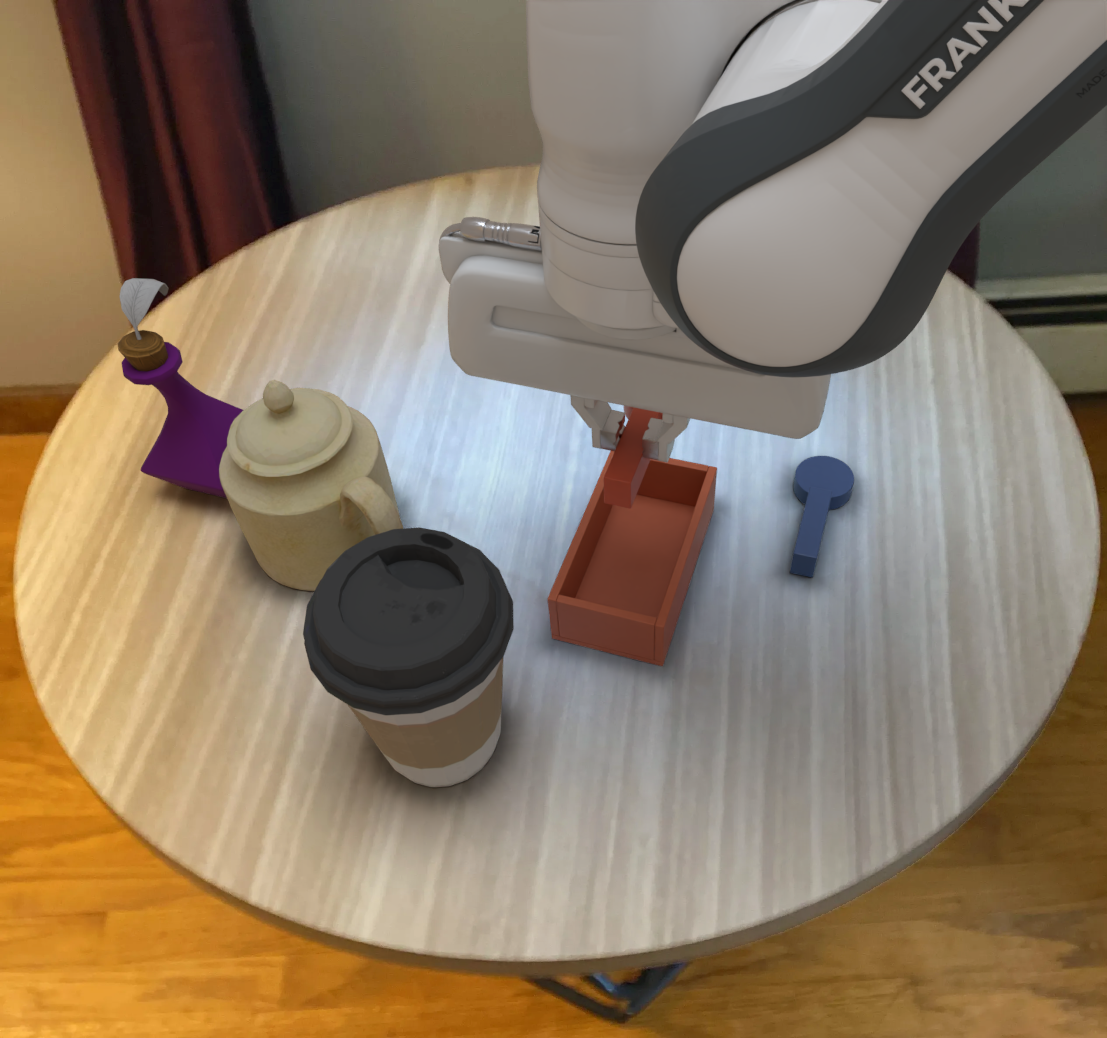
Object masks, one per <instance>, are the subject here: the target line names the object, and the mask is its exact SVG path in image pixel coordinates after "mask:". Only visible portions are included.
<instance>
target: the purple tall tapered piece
mask: <svg viewBox="0 0 1107 1038" xmlns="http://www.w3.org/2000/svg"><path fill="white" fill-rule="evenodd" d="M158 292H159V293H160V294H162V295H163V296H164V297H166V296H167V294H168V292H169V287H168V285H167V284H166V283H165V282H161V281H160V280H157V279H154V278H137V277H135V278H134V277H132V278H130V279H127V280H125V281H124V282H123V284H122V285H121V287H120V291H119V301H120V307H121V311H122V312H123V314H124V315H125V317H126V318H127V320H128V321H129V323H130V324H131V326H132V328H133V330H134V331H132V332H129V333H127V334H125V335H123V336H122V337H121V339H119V340H118V342H117V348H118V352H119V353H120V354H121V355H122V357H124V358H123V360H122V361H121V369H122V375H123V377H124V378H125V379H126V380H128V381H129V382H131V383H132V384H134V385H137V386H153V387H154V389H156V390H157V391H158V392H159V393H160V394H161V395H162V397H163V398H164V400H165V403H166V407H167V415H166V417H165V419H164V422H163V425H162V426H161V430H160V432H159V435H158V436H157V438H156V440H155V442H154V444H153V445H152V447H151V449H150V450H149V452H148V454H147V456H146V458H145V460H144V461H143V463H142V465H141V467H140V471H141V472H142V473H143V474H144V475H147V476H150V477H153V478H155V479H158V480H161V481H164V482H166V483H169V484H171V485H175V486H177V487H179V488H183V489H186V490H190V491H194V492H197V493H202V494H206V495H211V496H215V497H219V498H224V499H227V497H226V494H225V492H224V490H223V487H222V485H221V481H220V477H219V466H220V462H221V458H222V455H223V452H224V451H225V449H226V447H227V438H228V434H229V430H230V426H231V424H232V423H233V421H234V419H235V418H236V417H237V416H238V415H239V414H240V413H241V412H242V411H243V410H244V409H243V408H240V407H238V406H235V405H232V404H230V403H228V402H225V401H223V400H220V399H218V398H217V397H214V396H211V395H209V394H206V393H204V392H203V391H202V390H199V389H198V388H197V387H196V386H194V385H193V384H192V383H190V382H189V381H188V380H187V379H186V378H184V376H183V375H181V374H180V373H179V369H180V368H181V366H182V364H183V358H182V357H183V356H182V353H181V350H180V349H179V348H178V347H177V346H175V345H173V344H172V343H171V342H169V341H165V340H164V337H163V336H162V335H160V334H159V333H158V332H156V331H152V330H146V329H140V330H139V325H140V323H141V322H142V321H143V319H144V318H145V317H146V315H147V313H148V311H149V308H150V307H151V305H152V303H153V301H154V299H155V297H156V296H157V294H158Z"/></svg>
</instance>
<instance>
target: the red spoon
mask: <svg viewBox="0 0 1107 1038" xmlns="http://www.w3.org/2000/svg"><path fill="white" fill-rule="evenodd" d="M623 412H625V418H626V419H627V421H626V423H625V425H624V426H625V429H624V431H623V434H622V436H621V438H620V441H619V443H618V445H617V448H616V449H615V452H614V454H613V456H612V459H611V461H610V463H609V466H608V468H607V470H606V473H605V475H604V503H607V504H611V505H616V506H620V507H625V508H629V509H631V507H632V504H633V502H634V499H635V497H636V494H637V492H638V489H639V487H640V484H641V482H642V479H643V477H644V474H645V472H646V469H647V467H648V464H649V462H650V459H648V458H644V457H643V454H642V452H643V447H642V438H643V436H644V433H645V431H646V430H648V423H649V421H650V419H651V418H656V419H662V417H663V413H660V412H655V411H649V410H644V409H639V408H634V407H629V406H624V405H623Z"/></svg>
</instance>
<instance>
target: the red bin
mask: <svg viewBox="0 0 1107 1038" xmlns="http://www.w3.org/2000/svg"><path fill="white" fill-rule="evenodd" d="M609 451H610V450H609ZM614 452H615V451H610V452H609V453H608V455H607V458H606V461H605V462H604V465H603V467H602V470H601V472H600V475H599V477H598V479H597V482H596V484H595V486H594V489H593V490H592V493H591V495H590V497H589V500H588V502H587V505H586V507H585V510H584V512H583V514H582V516H581V519H580V521H579V524H578V526H577V528H576V530H575V533H574V536H573V538H572V540H571V543H570V545H569V547H568V550H567V552H566V554H565V556H564V559H563V561H562V564H561V565H560V568H559V571H558V573H557V574H556V577H555V580H554V582H553V584H552V587H551V590H550V591H549V594H548V595H547V599H546V600H547V607H548V608H547V609H548V616H549V624H550V633H551V639H552V640H557V641H561V642H564V643H568V644H572V645H575V646H579V647H584V648H588V649H592V650H596V651H599V652H604V653H607V654H611V655H616V656H619V657H623V658H626V659H627V658H628V659H632V660H635V661H640V662H643V663H647V664H651V665H655V666H659V667H664V665H665V661H666V659H667V655H668V652H669V649H670V646H671V643H672V640H673V637H674V633H675V631H676V628H677V624H678V622H679V618H680V616H681V612H682V609H683V606H684V603H685V601H686V598H687V597H686V596H687V593H688V591H689V587H690V584H691V582H692V579H693V576H694V573H695V569H696V567H697V566H696V565H697V562H698V559H699V557H700V554H701V550H702V548H703V545H704V541H705V538H706V535H707V532H708V530H709V527H710V526H709V525H710V523H711V519H712V517H713V513H714V511H715V502H716V501H715V500H716V488H717V474H718V467H717V466H712V465H707V464H703V463H698V462H694V461H689V460H687V461H686V460H683V459H678V458H673V457H670V458H669V460H668V462H667V463H666V462H662V461H657V460H653V459H650V462H649V464H648V467H647V469H646V472H645V474H644V477H643V479H642V482H641V484H640V487H639V489H638V492H637V494H636V497H635V499H634V502H633V504H632V507H631V509H629V508H625V507H620V506H616V505H611V504H607V503H604V475H605V473H606V470H607V468H608V466H609V463H610V461H611V459H612V456H613V454H614Z"/></svg>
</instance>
